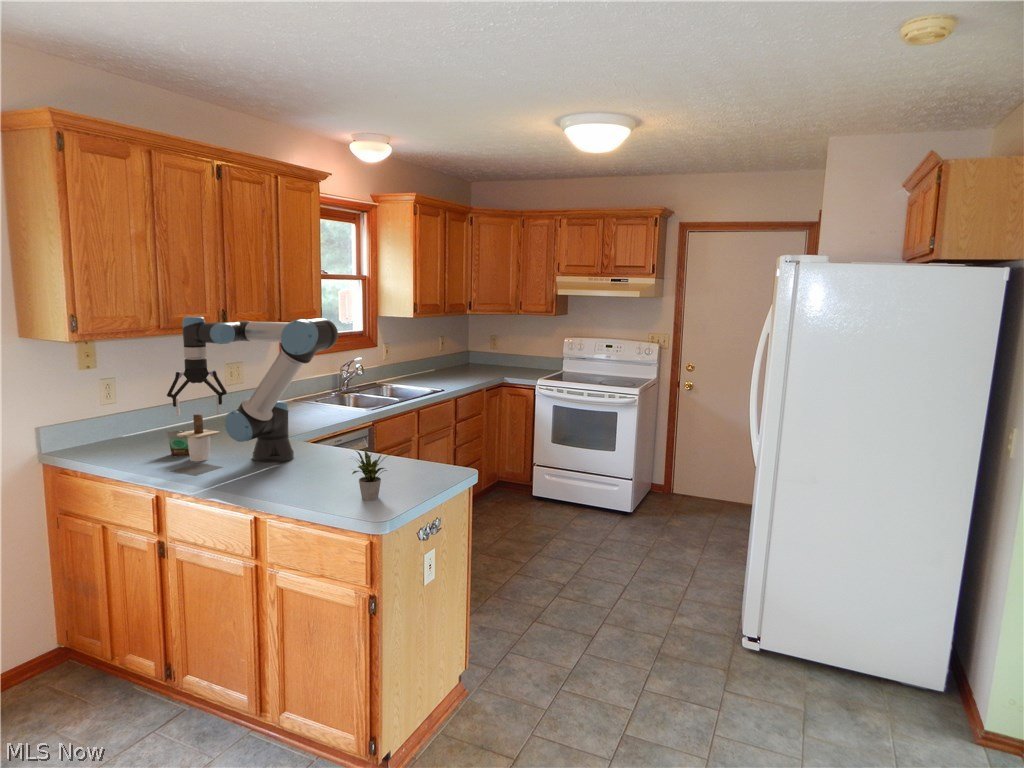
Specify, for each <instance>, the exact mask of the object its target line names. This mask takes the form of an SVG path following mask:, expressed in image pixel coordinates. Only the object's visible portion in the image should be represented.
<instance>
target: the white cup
mask: <svg viewBox="0 0 1024 768" xmlns="http://www.w3.org/2000/svg"><path fill="white" fill-rule="evenodd" d="M187 439H188V449H189V455H188V456H189V461H191V462H204V461H207V460H210V453H211V436H209V437H205V438H201V439H193V438H187Z"/></svg>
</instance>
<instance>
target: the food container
mask: <svg viewBox="0 0 1024 768" xmlns="http://www.w3.org/2000/svg"><path fill="white" fill-rule="evenodd" d="M188 431H189V430H185V429H184V430H183V429H182V430H177V431H170V430H166V437H167V438H168V442H169V449H170V455H171V454H172V455H173V456H172V455H171V456H172V457H174V456H177V457H180V456H182V457H183V456H190V455H189V449H188V439H187V438H186V437H179V436H177V434H179V433H184V432H188Z"/></svg>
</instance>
